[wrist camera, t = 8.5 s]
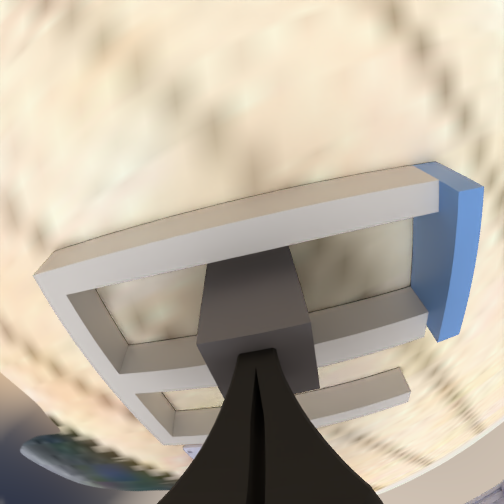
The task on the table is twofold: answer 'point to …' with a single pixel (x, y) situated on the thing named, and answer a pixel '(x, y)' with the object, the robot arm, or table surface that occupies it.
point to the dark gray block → (256, 317)
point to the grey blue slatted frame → (265, 238)
